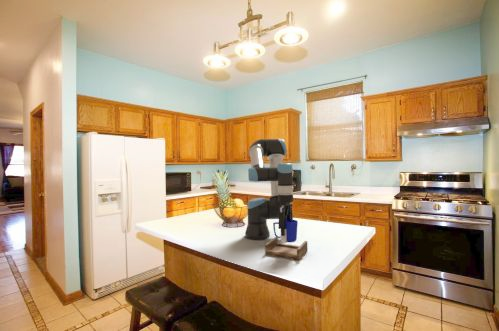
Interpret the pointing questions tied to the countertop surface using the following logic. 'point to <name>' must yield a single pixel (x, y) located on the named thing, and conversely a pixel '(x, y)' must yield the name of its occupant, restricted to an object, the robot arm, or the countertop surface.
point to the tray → (285, 249)
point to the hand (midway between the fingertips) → (286, 239)
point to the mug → (289, 230)
